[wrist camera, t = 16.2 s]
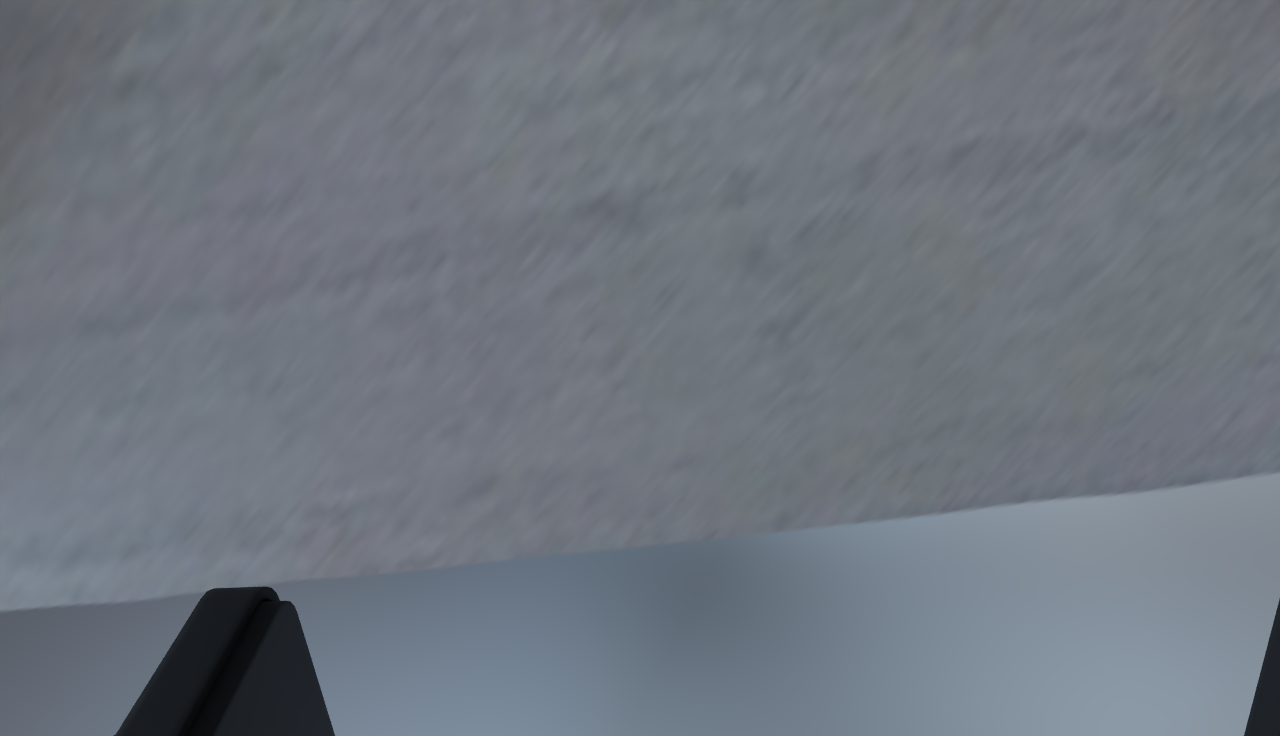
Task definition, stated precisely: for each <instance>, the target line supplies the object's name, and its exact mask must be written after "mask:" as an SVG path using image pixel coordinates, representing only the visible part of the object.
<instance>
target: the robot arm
mask: <svg viewBox="0 0 1280 736" xmlns="http://www.w3.org/2000/svg"><path fill="white" fill-rule="evenodd" d="M114 736H335V734H334V731H333V728H332V725H331V721H330V718H329V715H328V712H327V708H326V705H325V702H324V698H323V695H322V692H321V689H320V685H319V682H318V679H317V676H316V672H315V669H314V666H313V663H312V659H311V656H310V653H309V650H308V646H307V643H306V640H305V637H304V633H303V630H302V627H301V623H300V620H299V617H298V614H297V611H296V609H295V606H294V605H293V604H292V603H291V602H290V601H280V600H279V598H278V595H277V593H276V592H275V591H274V590H273V589H272V588H269V587H242V588H214V589H211V590H209V591H207V592H206V593H205V594H204V596H203V597H202V598H201V599H200V601H199V602H198V604H197V606H196V607H195V609H194V610H193V612H192V614H191V615H190V617H189V618H188V620H187V622H186V623H185V625H184V626H183V628H182V630H181V631H180V633H179V635H178V636H177V638H176V639H175V641H174V642H173V644H172V646H171V648H170V649H169V650H168V652H167V654H166V655H165V657H164V658H163V660H162V662H161V663H160V665H159V666H158V668H157V670H156V671H155V673H154V674H153V676H152V677H151V679H150V681H149V683H148V684H147V685H146V687H145V689H144V690H143V692H142V694H141V695H140V697H139V698H138V700H137V702H136V703H135V705H134V706H133V708H132V709H131V711H130V713H129V714H128V716H127V717H126V719H125V721H124V722H123V724H122V726H121V727H120V729H119V730H118V732H117V734H116V735H114ZM1244 736H1280V600H1279V604H1278V608H1277V611H1276V615H1275V619H1274V623H1273V627H1272V631H1271V634H1270V638H1269V642H1268V646H1267V650H1266V654H1265V658H1264V661H1263V665H1262V669H1261V673H1260V677H1259V681H1258V684H1257V688H1256V692H1255V696H1254V700H1253V704H1252V707H1251V712H1250V715H1249V719H1248V723H1247V727H1246V731H1245V735H1244Z"/></svg>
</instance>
